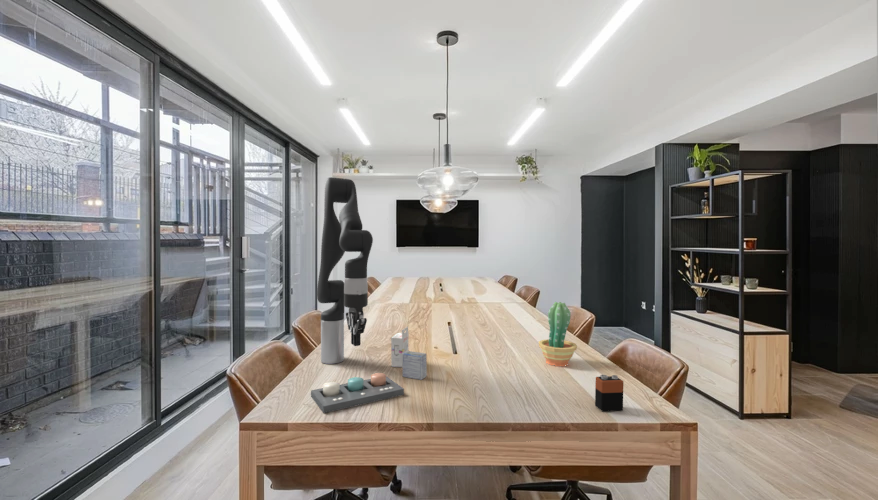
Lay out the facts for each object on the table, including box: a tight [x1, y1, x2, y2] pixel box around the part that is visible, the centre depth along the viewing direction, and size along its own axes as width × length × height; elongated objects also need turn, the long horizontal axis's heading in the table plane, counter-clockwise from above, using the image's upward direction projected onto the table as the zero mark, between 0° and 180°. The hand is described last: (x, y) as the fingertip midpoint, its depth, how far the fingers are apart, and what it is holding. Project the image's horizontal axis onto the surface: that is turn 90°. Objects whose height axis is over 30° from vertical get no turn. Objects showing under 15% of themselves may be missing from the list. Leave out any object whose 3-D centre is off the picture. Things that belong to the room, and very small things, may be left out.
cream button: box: [322, 381, 341, 398], centre depth 123 cm, size 5×5×3 cm
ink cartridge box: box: [390, 326, 409, 368], centre depth 158 cm, size 9×5×15 cm, turn 168°
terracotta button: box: [370, 372, 387, 387], centre depth 132 cm, size 5×5×3 cm
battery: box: [594, 374, 624, 412], centre depth 118 cm, size 4×7×10 cm, turn 96°
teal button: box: [347, 376, 365, 392], centre depth 127 cm, size 5×5×3 cm
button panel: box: [310, 375, 405, 414], centre depth 126 cm, size 14×26×2 cm, turn 122°
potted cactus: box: [538, 301, 578, 367], centre depth 161 cm, size 15×15×25 cm
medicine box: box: [402, 350, 428, 381], centre depth 144 cm, size 8×4×9 cm, turn 65°
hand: (355, 344), depth 127 cm, fingers closed
